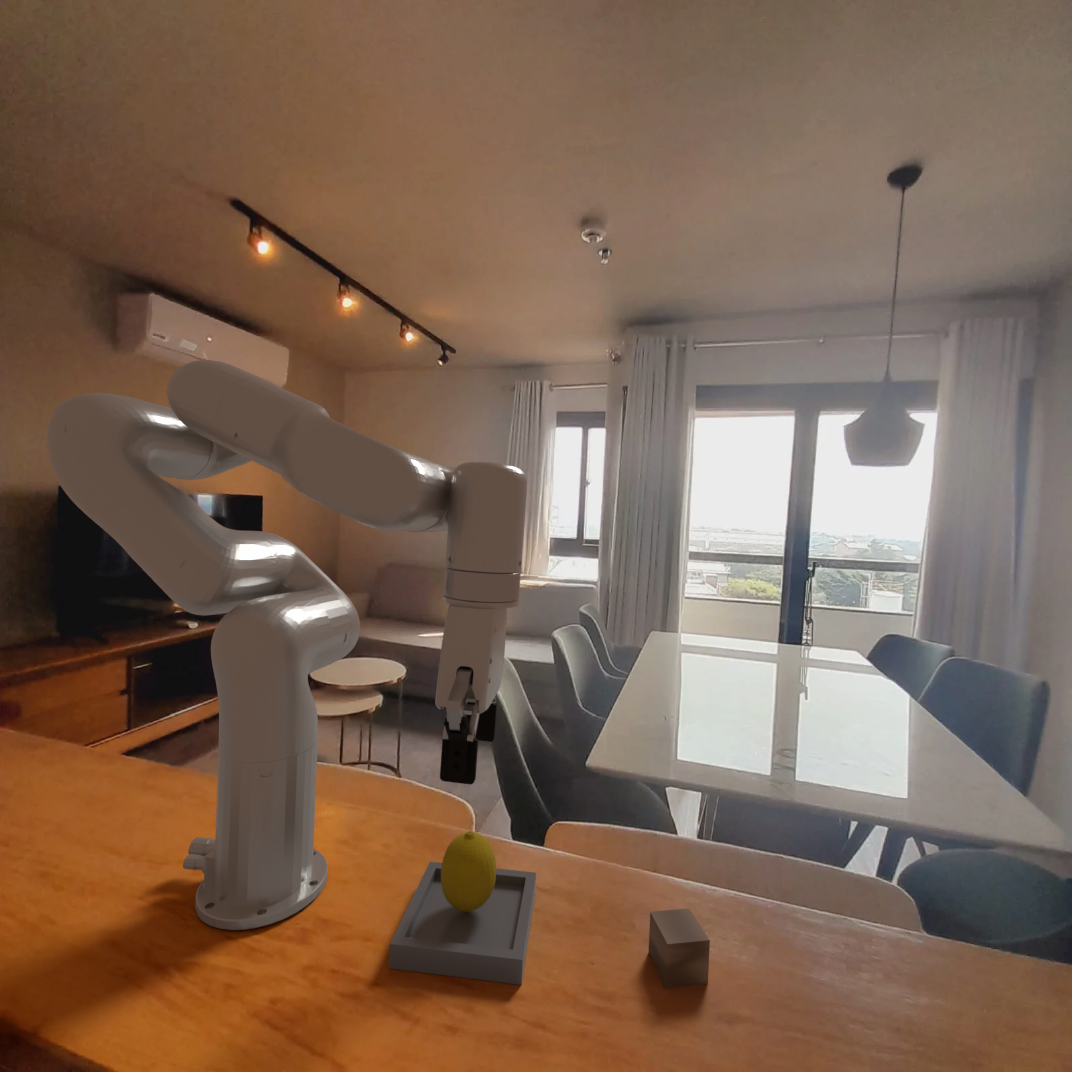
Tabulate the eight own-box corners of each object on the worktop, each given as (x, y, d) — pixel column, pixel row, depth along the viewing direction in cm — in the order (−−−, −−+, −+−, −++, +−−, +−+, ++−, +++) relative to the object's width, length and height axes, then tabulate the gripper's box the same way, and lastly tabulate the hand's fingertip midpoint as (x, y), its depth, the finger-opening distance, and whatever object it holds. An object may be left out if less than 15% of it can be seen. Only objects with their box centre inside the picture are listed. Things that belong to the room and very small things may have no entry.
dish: (388, 968, 47) (389, 943, 47) (429, 881, 59) (429, 861, 59) (521, 984, 46) (522, 960, 46) (535, 892, 58) (536, 872, 58)
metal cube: (665, 989, 46) (667, 944, 46) (648, 953, 50) (650, 911, 50) (707, 984, 47) (709, 940, 47) (687, 949, 51) (689, 908, 51)
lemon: (495, 893, 56) (498, 817, 56) (493, 932, 50) (496, 849, 50) (443, 892, 56) (446, 816, 56) (435, 931, 50) (438, 848, 50)
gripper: (465, 577, 61) (454, 723, 62) (417, 594, 44) (402, 797, 44) (528, 583, 61) (518, 730, 61) (505, 602, 44) (490, 808, 44)
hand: (469, 758), depth 53 cm, fingers open, 9 cm apart
